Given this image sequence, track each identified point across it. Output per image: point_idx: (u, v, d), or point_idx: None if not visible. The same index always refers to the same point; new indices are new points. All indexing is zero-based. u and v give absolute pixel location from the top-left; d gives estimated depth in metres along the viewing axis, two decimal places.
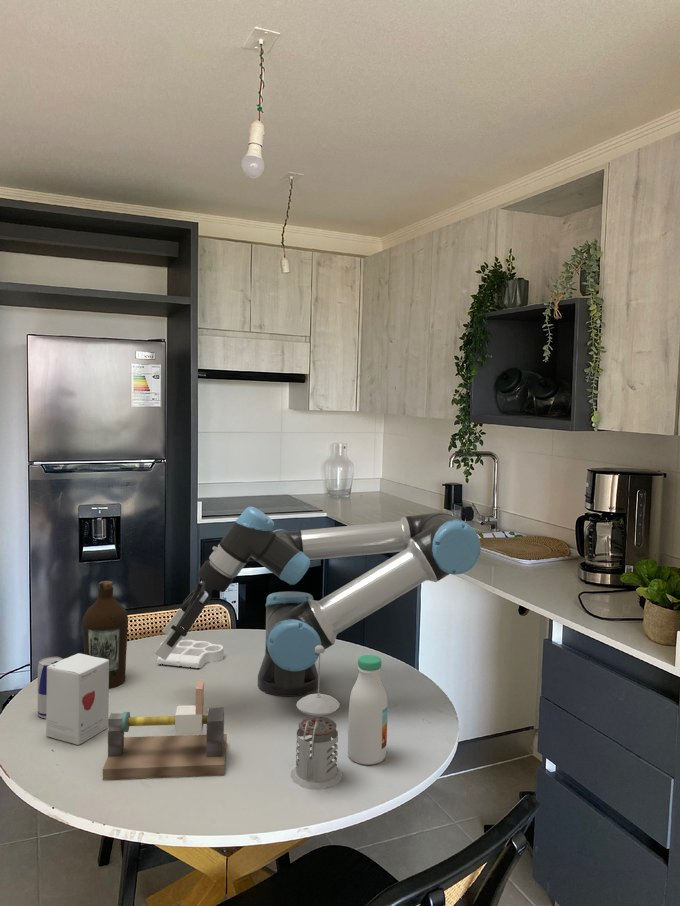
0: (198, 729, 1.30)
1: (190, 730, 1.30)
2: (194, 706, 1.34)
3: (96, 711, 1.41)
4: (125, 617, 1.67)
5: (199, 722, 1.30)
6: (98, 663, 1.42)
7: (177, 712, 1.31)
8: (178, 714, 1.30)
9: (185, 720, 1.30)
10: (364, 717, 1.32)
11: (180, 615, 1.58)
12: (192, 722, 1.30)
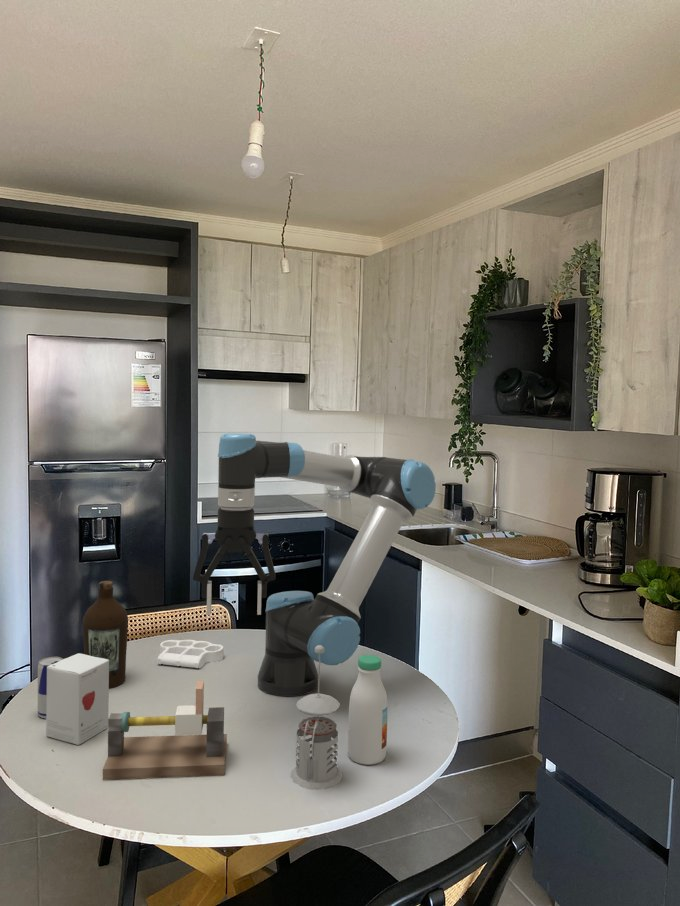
0: (198, 729, 1.30)
1: (190, 730, 1.30)
2: (194, 706, 1.34)
3: (96, 711, 1.41)
4: (125, 617, 1.67)
5: (199, 722, 1.30)
6: (98, 663, 1.42)
7: (177, 712, 1.31)
8: (178, 714, 1.30)
9: (185, 720, 1.30)
10: (364, 717, 1.32)
11: None
12: (192, 722, 1.30)
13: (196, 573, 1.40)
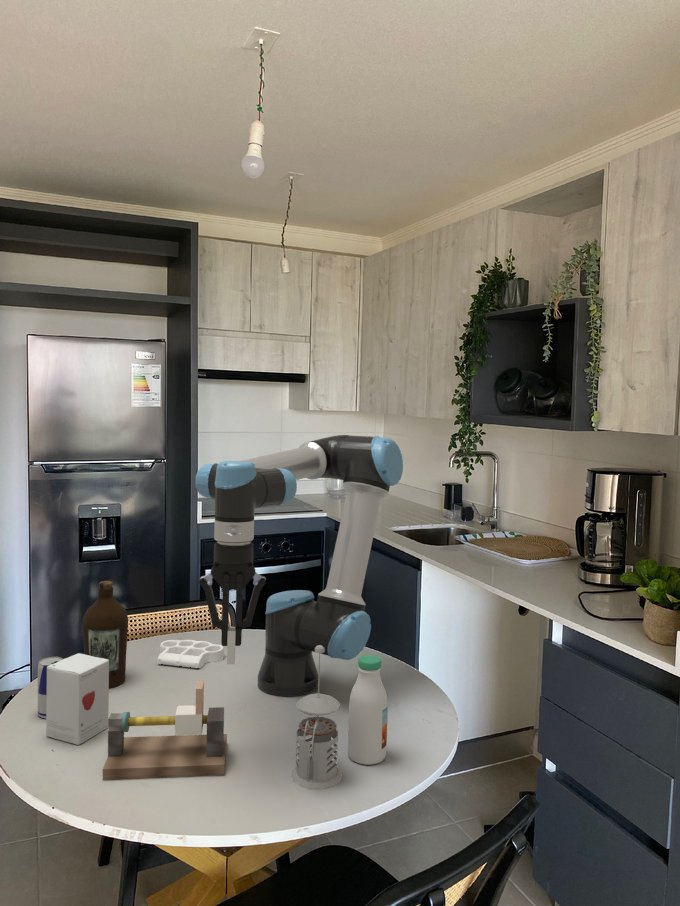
0: (198, 729, 1.30)
1: (190, 730, 1.30)
2: (194, 706, 1.34)
3: (96, 711, 1.41)
4: (125, 617, 1.67)
5: (199, 722, 1.30)
6: (98, 663, 1.42)
7: (177, 712, 1.31)
8: (178, 714, 1.30)
9: (185, 720, 1.30)
10: (364, 717, 1.32)
11: None
12: (192, 722, 1.30)
13: (213, 619, 1.30)
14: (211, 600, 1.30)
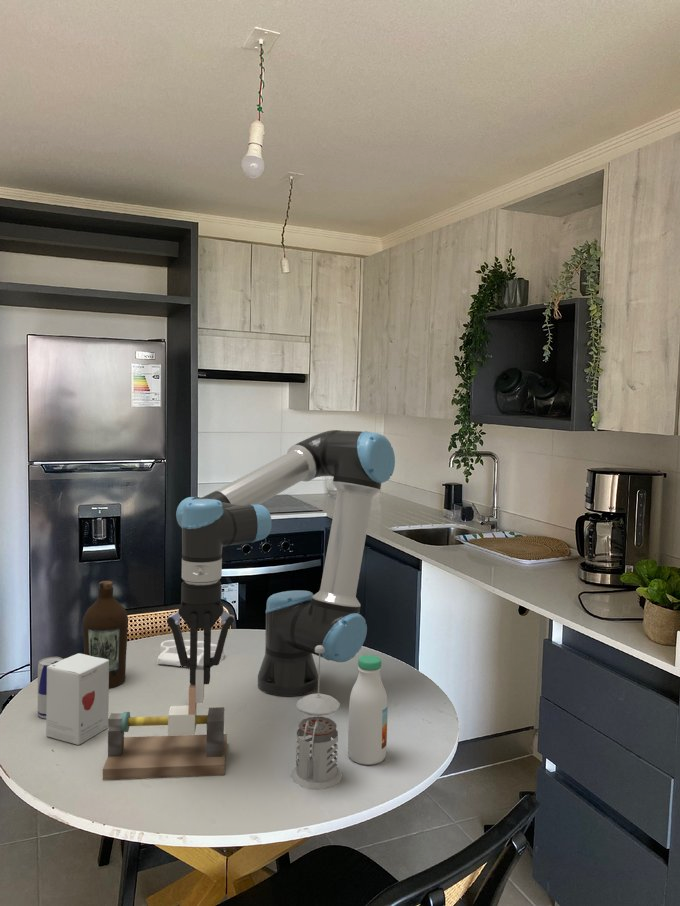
0: (191, 729, 1.30)
1: (183, 730, 1.30)
2: (187, 706, 1.33)
3: (96, 711, 1.41)
4: (125, 617, 1.67)
5: (192, 722, 1.30)
6: (98, 663, 1.42)
7: (170, 712, 1.31)
8: (171, 714, 1.30)
9: (178, 720, 1.30)
10: (364, 717, 1.32)
11: None
12: (185, 722, 1.30)
13: (181, 658, 1.30)
14: (179, 639, 1.29)
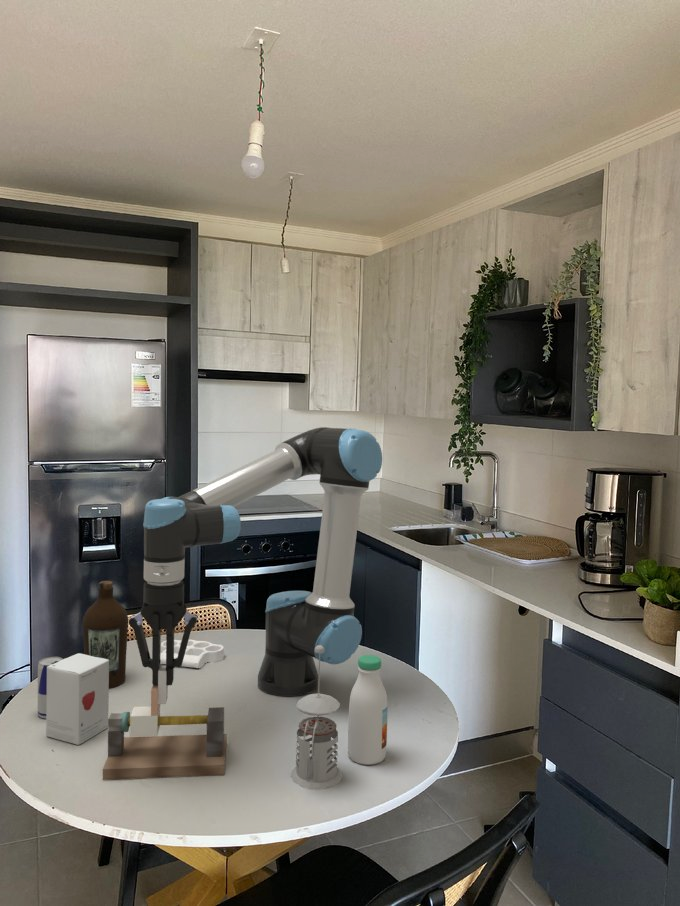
0: (153, 730, 1.29)
1: (145, 731, 1.29)
2: (150, 707, 1.33)
3: (96, 711, 1.41)
4: (125, 617, 1.67)
5: (154, 723, 1.29)
6: (98, 663, 1.42)
7: (132, 713, 1.30)
8: (133, 716, 1.29)
9: (140, 721, 1.29)
10: (364, 717, 1.32)
11: None
12: (148, 723, 1.29)
13: (144, 659, 1.29)
14: (141, 640, 1.29)
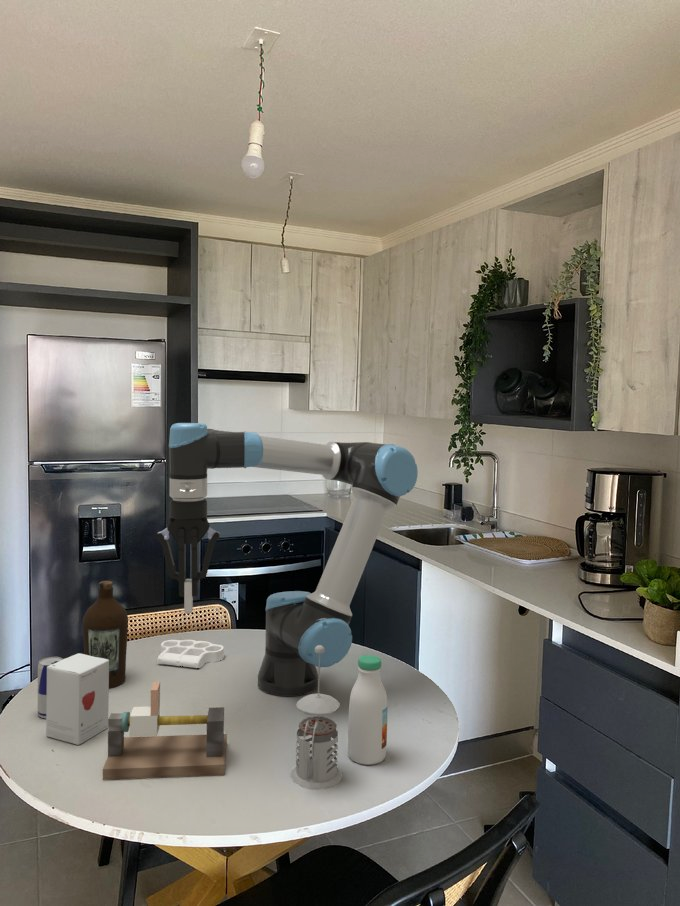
0: (153, 730, 1.29)
1: (145, 731, 1.29)
2: (150, 707, 1.33)
3: (96, 711, 1.41)
4: (125, 617, 1.67)
5: (154, 723, 1.29)
6: (98, 663, 1.42)
7: (132, 713, 1.30)
8: (133, 716, 1.29)
9: (140, 721, 1.29)
10: (364, 717, 1.32)
11: None
12: (147, 723, 1.29)
13: (170, 572, 1.38)
14: (168, 553, 1.38)
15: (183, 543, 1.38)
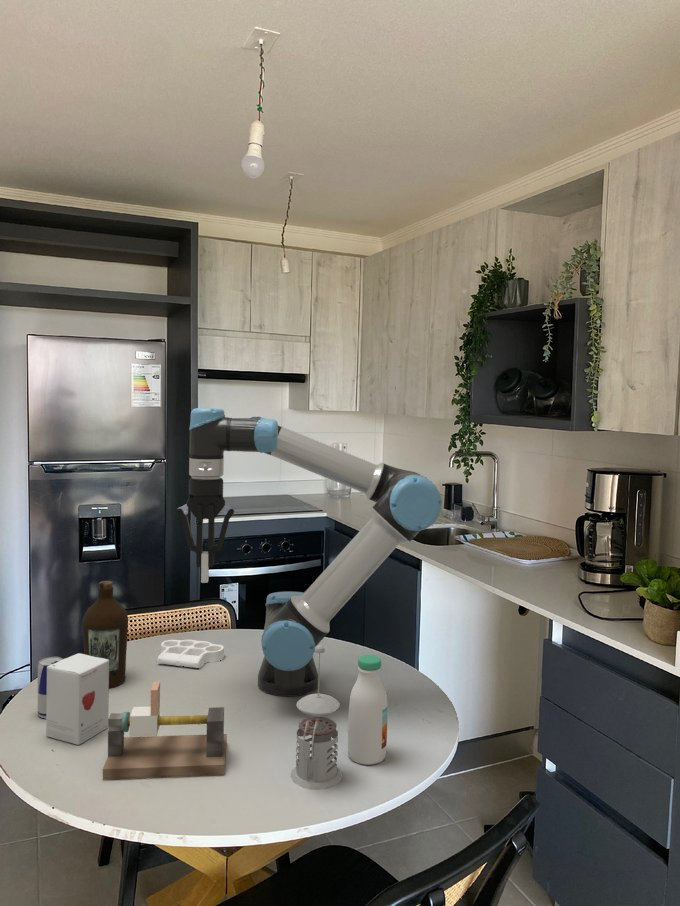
0: (153, 730, 1.29)
1: (145, 731, 1.29)
2: (150, 707, 1.33)
3: (96, 711, 1.41)
4: (125, 617, 1.67)
5: (154, 723, 1.29)
6: (98, 663, 1.42)
7: (132, 713, 1.30)
8: (133, 716, 1.29)
9: (140, 721, 1.29)
10: (364, 717, 1.32)
11: None
12: (147, 723, 1.29)
13: (189, 544, 1.51)
14: (187, 527, 1.51)
15: (201, 518, 1.51)
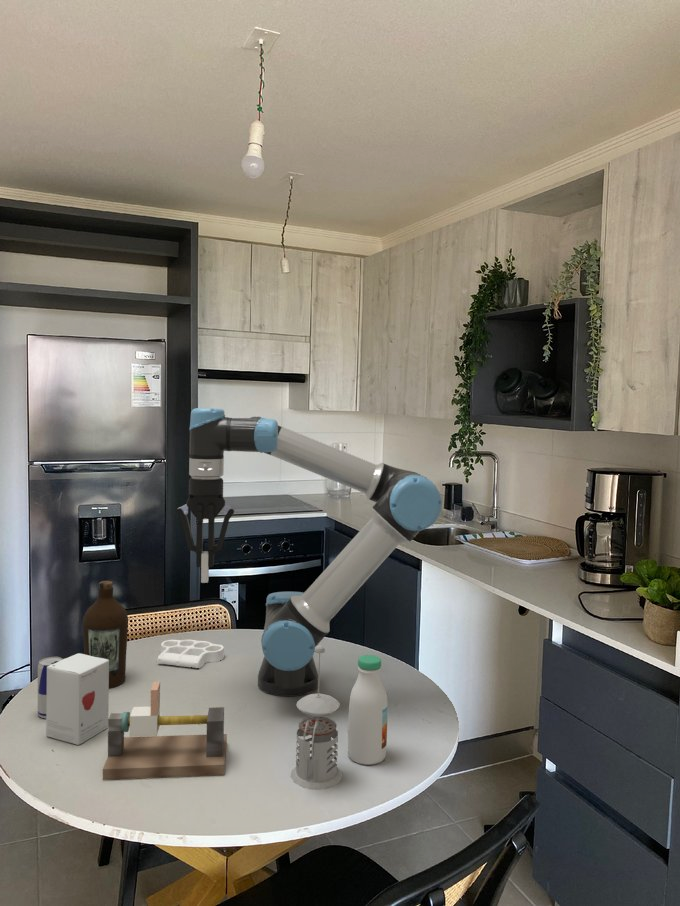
0: (153, 730, 1.29)
1: (145, 731, 1.29)
2: (150, 707, 1.33)
3: (96, 711, 1.41)
4: (125, 617, 1.67)
5: (154, 723, 1.29)
6: (98, 663, 1.42)
7: (132, 713, 1.30)
8: (133, 716, 1.29)
9: (140, 721, 1.29)
10: (364, 717, 1.32)
11: None
12: (147, 723, 1.29)
13: (189, 544, 1.51)
14: (187, 527, 1.51)
15: (201, 518, 1.51)
